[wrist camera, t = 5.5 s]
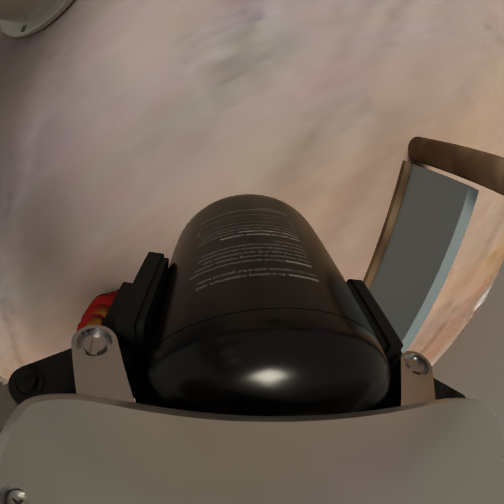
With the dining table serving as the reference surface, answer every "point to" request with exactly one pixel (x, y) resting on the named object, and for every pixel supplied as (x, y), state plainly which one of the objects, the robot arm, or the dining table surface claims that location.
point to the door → (421, 249)
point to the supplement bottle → (259, 321)
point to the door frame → (447, 159)
